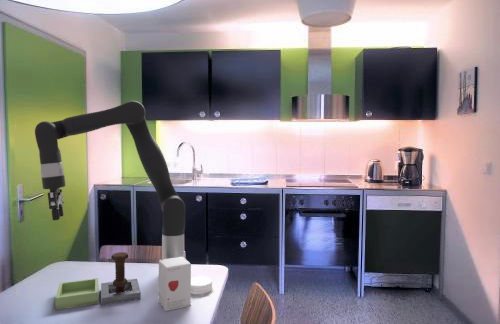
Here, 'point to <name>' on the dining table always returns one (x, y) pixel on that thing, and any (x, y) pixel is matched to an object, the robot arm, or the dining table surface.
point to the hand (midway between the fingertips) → (58, 218)
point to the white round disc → (200, 285)
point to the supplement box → (174, 283)
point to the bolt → (120, 271)
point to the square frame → (122, 296)
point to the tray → (77, 293)
